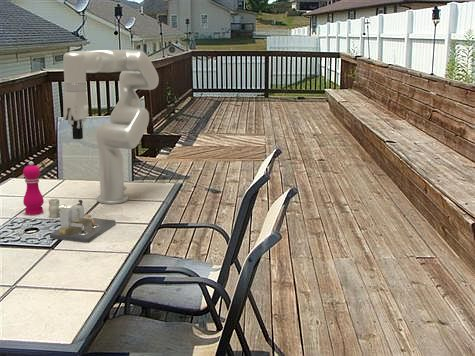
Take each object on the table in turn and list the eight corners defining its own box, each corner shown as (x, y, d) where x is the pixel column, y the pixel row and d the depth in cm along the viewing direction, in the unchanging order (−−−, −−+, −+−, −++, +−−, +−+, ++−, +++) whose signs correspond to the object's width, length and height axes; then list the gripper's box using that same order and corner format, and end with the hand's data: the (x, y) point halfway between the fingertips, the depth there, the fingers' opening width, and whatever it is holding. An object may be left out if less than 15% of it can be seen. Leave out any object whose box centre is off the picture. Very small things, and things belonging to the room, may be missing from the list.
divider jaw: (75, 222, 203) (74, 204, 201) (96, 224, 201) (95, 207, 199) (70, 224, 200) (69, 207, 199) (92, 227, 198) (91, 209, 197)
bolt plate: (80, 220, 211) (79, 196, 209) (115, 224, 208) (114, 200, 206) (50, 238, 192) (48, 212, 190) (88, 242, 189) (87, 216, 187)
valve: (47, 219, 211) (80, 219, 212) (46, 202, 210) (79, 202, 211) (51, 214, 218) (83, 214, 219) (50, 197, 216) (82, 197, 217)
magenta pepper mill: (48, 211, 221) (45, 160, 216) (36, 216, 214) (32, 163, 210) (32, 209, 223) (29, 158, 218) (20, 214, 217) (16, 162, 212)
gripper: (76, 86, 214) (79, 134, 218) (54, 89, 200) (57, 141, 204) (95, 86, 212) (97, 136, 217) (74, 90, 198) (76, 143, 202)
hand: (77, 138), depth 210 cm, fingers closed
